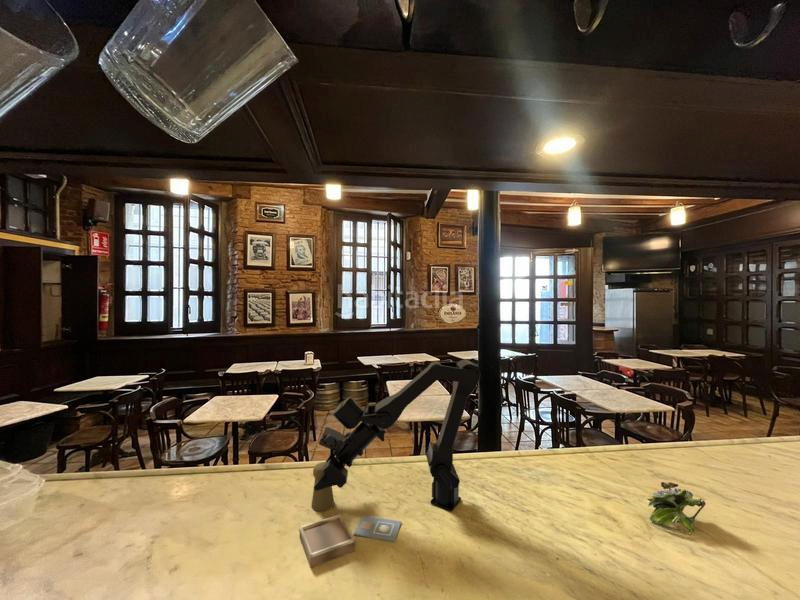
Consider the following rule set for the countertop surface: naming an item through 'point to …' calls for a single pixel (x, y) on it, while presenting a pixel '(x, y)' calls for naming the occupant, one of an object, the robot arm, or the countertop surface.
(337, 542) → the brown square tray
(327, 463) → the robot arm
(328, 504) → the olive pawn figure
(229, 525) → the countertop surface
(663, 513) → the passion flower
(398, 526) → the blueprint card
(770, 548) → the countertop surface
